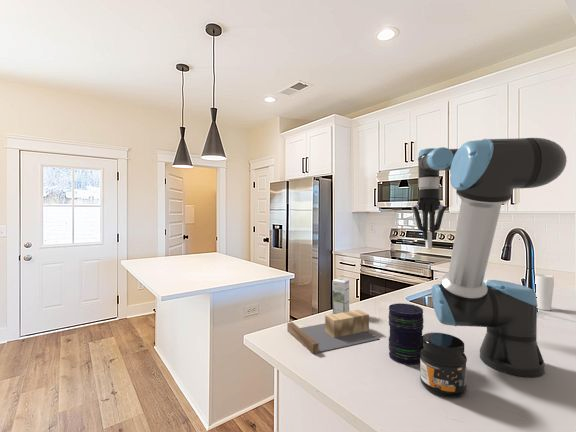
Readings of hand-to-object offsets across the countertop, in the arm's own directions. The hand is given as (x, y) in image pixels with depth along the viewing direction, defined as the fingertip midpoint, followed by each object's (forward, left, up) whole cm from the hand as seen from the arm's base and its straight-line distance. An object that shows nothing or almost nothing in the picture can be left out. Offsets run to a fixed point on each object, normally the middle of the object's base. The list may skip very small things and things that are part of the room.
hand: (428, 248), depth 121 cm
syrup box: (+8, +34, -30) cm, 46 cm away
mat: (-16, +38, -29) cm, 51 cm away
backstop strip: (-22, +49, -29) cm, 62 cm away
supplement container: (-46, +12, -30) cm, 56 cm away
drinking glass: (+21, -56, -30) cm, 66 cm away
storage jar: (-31, +17, -30) cm, 46 cm away
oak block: (-9, +27, -26) cm, 38 cm away
